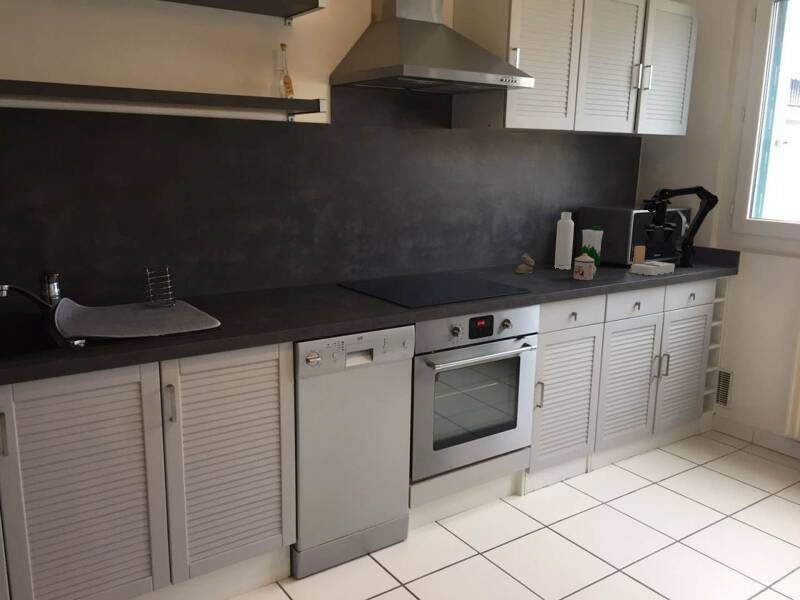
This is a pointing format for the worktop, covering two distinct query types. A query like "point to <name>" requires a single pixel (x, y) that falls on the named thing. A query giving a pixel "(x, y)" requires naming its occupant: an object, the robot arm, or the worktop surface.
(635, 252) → the tan upright block
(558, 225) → the bottle
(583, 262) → the teacup with lid
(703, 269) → the worktop surface
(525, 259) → the chocolate bunny
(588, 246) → the white green tumbler
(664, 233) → the robot arm
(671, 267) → the white flat block
